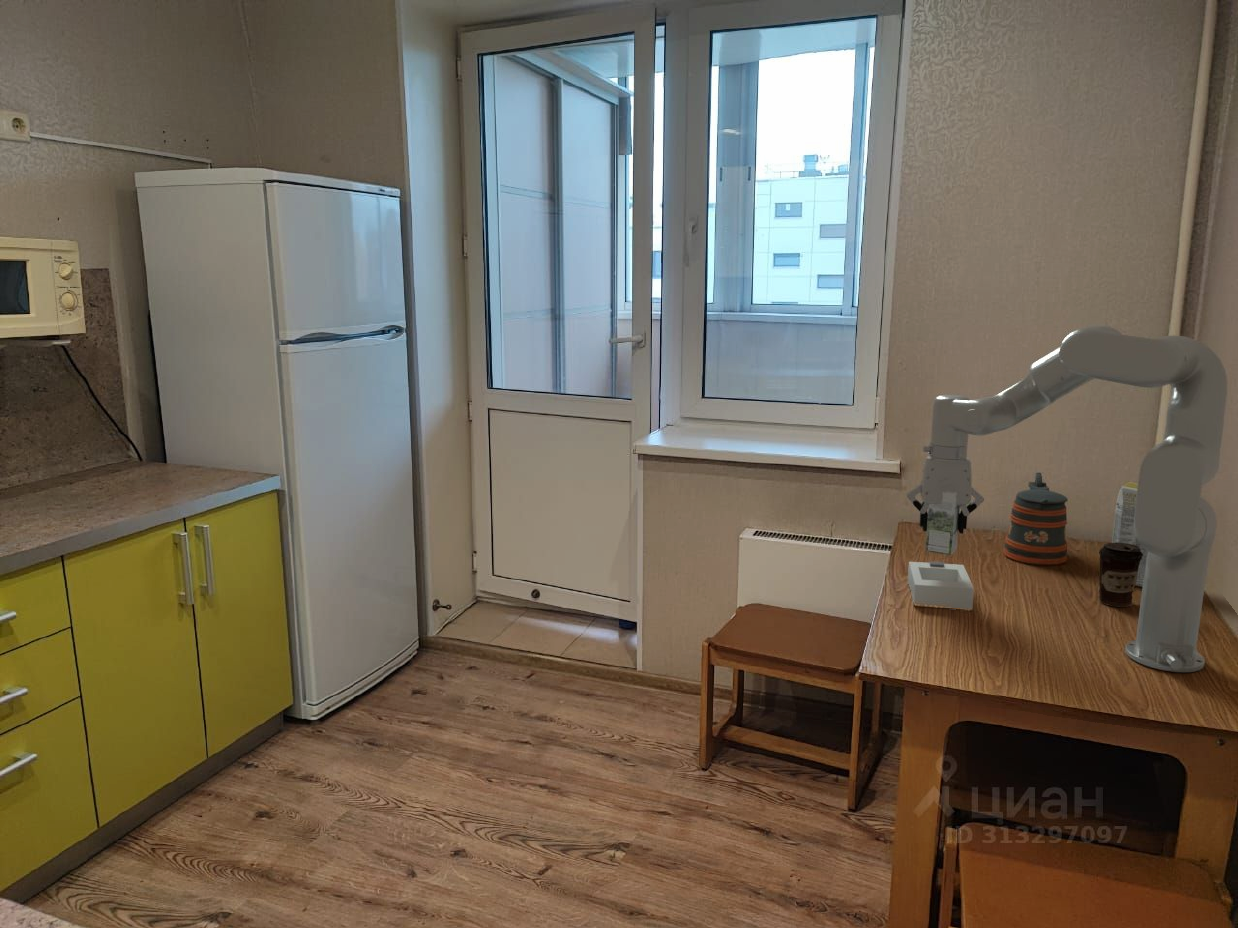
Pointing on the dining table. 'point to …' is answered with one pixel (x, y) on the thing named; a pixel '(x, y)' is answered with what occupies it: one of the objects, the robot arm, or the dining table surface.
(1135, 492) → the juice carton
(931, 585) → the socket block
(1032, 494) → the beer stein
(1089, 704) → the dining table surface
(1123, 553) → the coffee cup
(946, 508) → the syrup box
